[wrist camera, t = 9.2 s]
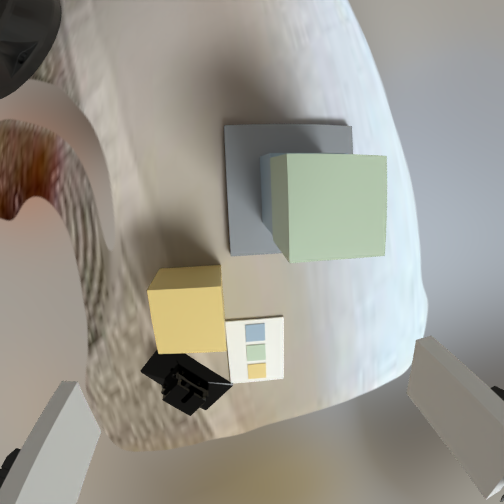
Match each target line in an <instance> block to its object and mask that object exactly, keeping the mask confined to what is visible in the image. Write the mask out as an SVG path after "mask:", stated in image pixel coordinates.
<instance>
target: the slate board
mask: <svg viewBox="0 0 504 504" xmlns="http://www.w3.org/2000/svg"><path fill="white" fill-rule="evenodd" d="M224 135H225V158H226V179H227V198H228V217H229V234H230V251H231V256H245V255H260V254H275V253H282V252H281V251H280V249H279V248H278V247H277V245H276V244H275V243H274V241H273V235H272V234H271V233H270V231H269V230H268V229H267V228H266V226H265V225H264V224H263V223H262V198H261V173H260V157H261V156H263V155H266V154H269V153H348V154H353V142H352V126H342V125H318V124H247V125H224Z"/></svg>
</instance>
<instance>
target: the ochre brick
mask: <svg viewBox="0 0 504 504" xmlns="http://www.w3.org/2000/svg"><path fill="white" fill-rule="evenodd" d="M147 294H148V300H149V306H150V312H151V318H152V323H153V329H154V334H155V339H156V345H157V350H158V354H176V353H202V352H221V351H227V350H226V328H225V312H224V300H223V287H222V273H221V265H211V266H194V267H178V268H161V269H159V271H158V272H157V274H156V276H155V278H154V279H153V281H152V283H151V284H150V286H149V288H148V290H147Z"/></svg>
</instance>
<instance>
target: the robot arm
mask: <svg viewBox="0 0 504 504" xmlns="http://www.w3.org/2000/svg"><path fill="white" fill-rule="evenodd" d="M60 21H61V6H60V2H59V0H0V99H2V98H4V97H6V96H8V95H9V94H11V93H12V92H14V91H16V90H17V89H18V88H19V87H20V86H21V85H23V84H24V83H25V82H26V81H27V80H28V79H29V78H30V77H31V76H32V75H33V74H34V72H35V71H36V70H37V69H38V67H39V66H40V65H41V63H42V62H43V60H44V59H45V57H46V56H47V54H48V52H49V50H50V49H51V47H52V45H53V43H54V40H55V38H56V35H57V32H58V29H59V26H60ZM406 393H407V395H408V396H409V397H410V398H411V400H412V401H413V402H414V404H415V405H416V406H417V408H418V409H419V410H420V411H421V413H422V414H423V415H424V417H425V418H426V419H427V421H428V422H429V423H430V424H431V426H432V427H433V428H434V430H435V431H436V432H437V434H438V435H439V436H440V438H441V439H442V440H443V442H444V443H445V444H446V446H447V447H448V448H449V450H450V451H451V452H452V454H453V455H454V456H455V458H456V459H457V461H458V462H459V463H460V465H461V466H462V467H463V469H464V470H465V471H466V473H467V474H468V476H469V477H470V478H471V480H472V481H473V482H474V484H475V485H476V486H477V488H478V489H479V491H480V492H481V494H482V495H483V497H484V498H485V499H488V498H489V497H491V496H492V495H494V494H495V493H497V492H498V491H500V490H501V489H502V488H503V487H504V390H502V389H500V388H498V387H496V386H494V387H492V388H489V387H488V386H487V385H486V384H485V383H484V382H483V381H482V380H481V379H479V378H478V377H477V376H476V375H475V374H474V373H473V372H472V371H471V370H469V369H468V368H467V367H466V366H465V365H464V364H463V363H462V362H461V361H460V360H458V359H457V358H456V357H455V356H454V355H453V354H452V353H451V352H449V351H448V350H447V349H446V348H445V347H444V346H442V345H441V344H440V343H439V342H438V341H437V340H436V339H435V338H433V337H432V336H428V337H425V338H421V339H418V340H416V344H415V350H414V356H413V361H412V367H411V372H410V377H409V382H408V386H407V391H406ZM100 433H101V430H100V428H99V426H98V424H97V422H96V420H95V418H94V416H93V414H92V412H91V410H90V408H89V406H88V404H87V401H86V399H85V397H84V395H83V393H82V391H81V388H80V386H79V383H78V382H75V381H62V382H61V383H60V385H59V386H58V388H57V390H56V391H55V393H54V394H53V396H52V398H51V399H50V401H49V402H48V404H47V406H46V407H45V409H44V411H43V412H42V414H41V416H40V417H39V419H38V421H37V422H36V424H35V426H34V427H33V429H32V431H31V433H30V435H29V436H28V438H27V440H26V441H25V443H24V445H23V447H22V449H18V448H16V449H15V450H14V451H13V452H11V453H10V454H9V455H8V456H7V457H6V459H5V461H4V463H3V465H2V466H1V467H2V469H0V504H77V500H78V497H79V494H80V491H81V488H82V485H83V482H84V479H85V476H86V473H87V470H88V467H89V464H90V461H91V458H92V455H93V453H94V449H95V447H96V444H97V442H98V439H99V436H100ZM503 501H504V495H503V496H502V498H501V501H500V502H503Z"/></svg>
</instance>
